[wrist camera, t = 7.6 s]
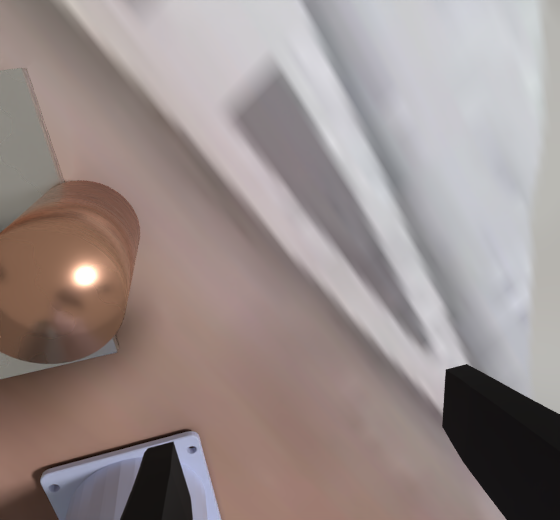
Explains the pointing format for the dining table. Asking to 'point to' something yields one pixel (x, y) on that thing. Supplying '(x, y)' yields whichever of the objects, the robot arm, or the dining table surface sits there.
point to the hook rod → (66, 273)
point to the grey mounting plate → (26, 176)
